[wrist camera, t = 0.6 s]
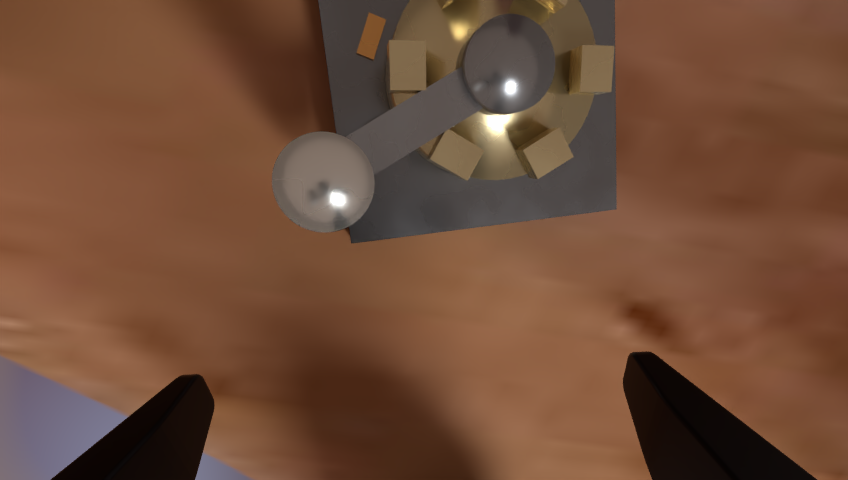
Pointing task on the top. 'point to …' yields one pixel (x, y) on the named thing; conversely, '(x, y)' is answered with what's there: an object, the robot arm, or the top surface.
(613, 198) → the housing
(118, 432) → the robot arm
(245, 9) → the top surface
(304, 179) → the crank mechanism
